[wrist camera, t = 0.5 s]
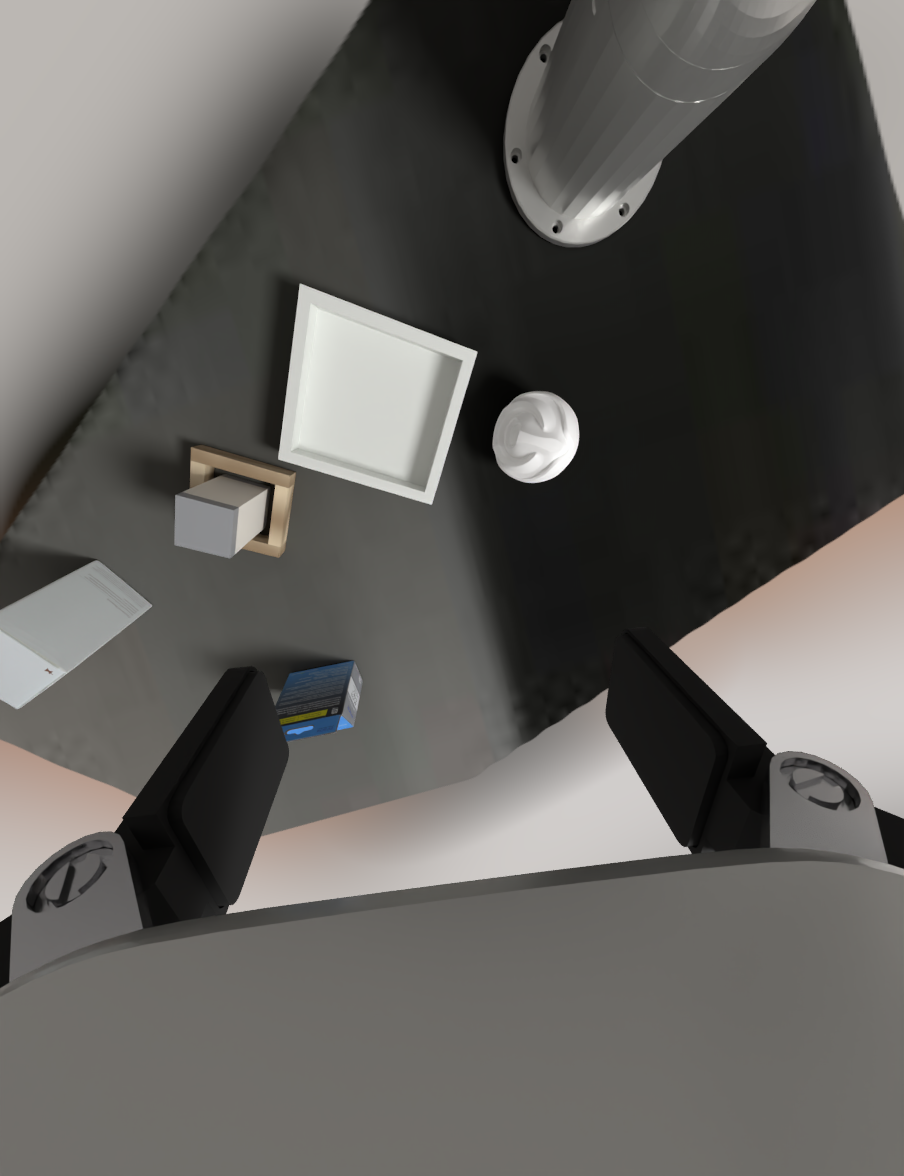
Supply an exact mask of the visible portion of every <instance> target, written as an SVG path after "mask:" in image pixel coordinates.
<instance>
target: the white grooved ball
mask: <svg viewBox="0 0 904 1176" xmlns="http://www.w3.org/2000/svg"><path fill="white" fill-rule="evenodd" d="M578 442H579V426H578V420H577V417H576V415H575V413H574V411H573V410H572V409H571V407H570V406H569V405H568V404H567V403H566V402H565V401H564V400H563V399H561V398H560V397H559V396H557V395H555V394H553V393H550V392H544V391H532V392H527V393H524V394H521V395H519V396H517V397H516V398H514V399H513V400H512V401H511V403H510V404H509V405H508V406H507V407H505V408H504V409H503V410H502V412H501V414H500V416H499V418H498V420H497V422H496V425H495V429H494V434H493V450H494V452H495V455H496V460H497V463H498V465H499V467H500V468H501V469H502V470H503V471H504V472H505V473H506V474H507V475H509V476H510V477H512V478H514V479H516V480H519V481H522V482H526V483H537V482H543V481H546V480H549V479H551V478H553V477H555V476H557V475H558V474H559V473H560V472H561V471H563V470H564V469H565V467H566V466H567V465H568V464H569V463H570V462H571V460H572V459H573V457H574V455H575V453H576V450H577V447H578Z"/></svg>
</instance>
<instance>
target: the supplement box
mask: <svg viewBox="0 0 904 1176" xmlns="http://www.w3.org/2000/svg"><path fill="white" fill-rule="evenodd" d="M151 607H152V605H151V604H150V603H149V602H148V601H147V600H145V599H144V598H143V597H142V596H141V595H140V594H138V593H137V592H136V591H135V590H134V589H132V588H131V587H130V586H129V585H128V584H126V583H125V582H124V581H123V580H122V579H120V578H119V577H118V576H117V575H116V574H114V573H113V572H112V571H111V570H110V569H108V568H107V567H106V566H105V565H104V564H102V563H101V562H100V561H98V560H95V561H93V562H91V563H89V564H87V565H85V566H83V567H81V568H79V569H77V570H75V571H73V572H71V573H69V574H68V575H66V576H64V577H62V578H60V579H58V580H56V581H54V582H52V583H50V584H48V585H46V586H45V587H43V588H41V589H39V590H37V591H35V592H33V593H31V594H29V595H27V596H26V597H24V598H22V599H20V600H18V601H16V602H14V603H12V604H10V605H8V606H6V607H4V608H2V609H1V610H0V699H1V700H3V701H4V702H6V703H8V704H9V705H11V706H12V707H14V708H15V709H19V708H21V707H22V706H24V705H25V704H26V703H28V702H29V701H30V700H32V699H33V698H34V697H36V696H37V695H39V694H40V693H41V692H43V691H44V690H46V689H47V688H48V687H50V686H51V685H52V684H54V683H55V682H56V681H58V680H59V679H60V678H62V677H63V676H64V675H66V674H67V673H68V672H70V671H71V670H72V669H74V668H75V667H76V666H78V665H79V664H80V663H81V662H83V661H84V660H85V659H87V658H88V657H89V656H90V655H92V654H93V653H94V652H95V651H97V650H98V649H99V648H100V647H102V646H103V645H104V644H106V643H107V642H108V641H109V640H111V639H112V638H113V637H114V636H116V635H117V634H118V633H119V632H121V631H122V630H123V629H125V628H126V627H127V626H128V625H130V624H131V623H132V622H133V621H135V620H136V619H137V618H138V617H140V616H141V615H142V614H143V613H144V612H146V611H147V610H148V609H149V608H151Z"/></svg>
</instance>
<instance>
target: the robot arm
mask: <svg viewBox="0 0 904 1176" xmlns="http://www.w3.org/2000/svg"><path fill="white" fill-rule="evenodd" d="M815 1H816V0H571V2H570V5H569V7H568V10H567V12H566V15H565V18H564V20H562V21H560V22H558V23H557V24H556V25H555V26H554V27H553V28H551V29H550V30H549V31H548V32H547V33H546V34H545V35H544V36H543V37H542V38H541V39H540V41H539V42H538V43H537V45H536V46H535V47H534V49H533V50H532V51H531V53H530V54H529V56H528V58H527V59H526V61H525V63H524V65H523V67H522V69H521V71H520V73H519V75H518V78H517V81H516V83H515V86H514V89H513V92H512V95H511V99H510V102H509V106H508V110H507V114H506V120H505V128H504V136H503V160H504V166H505V173H506V180H507V183H508V186H509V190H510V193H511V196H512V199H513V201H514V203H515V205H516V207H517V209H518V211H519V213H520V215H521V216H522V218H523V219H524V220H525V222H526V223H527V224H528V226H529V227H530V228H531V229H532V230H533V231H535V232H536V233H537V234H538V235H539V236H540V237H542V238H543V239H545V240H547V241H549V242H551V243H553V244H556V245H560V246H564V247H583V246H587V245H591V244H595V243H597V242H599V241H601V240H603V239H605V238H607V237H608V236H610V235H611V234H612V233H614V232H615V231H616V230H618V229H619V228H620V227H621V226H622V225H624V224H625V223H626V222H627V221H628V220H629V219H630V218H631V217H632V216H633V214H634V213H635V212H636V211H637V209H638V208H639V207H640V205H641V204H642V203H643V201H644V200H645V198H646V196H647V194H648V193H649V191H650V189H651V187H652V186H653V183H654V181H655V179H656V176H657V174H658V171H659V169H660V166H661V163H662V159H663V158H664V157H665V156H666V155H667V154H668V153H669V152H670V151H671V150H672V149H674V148H675V147H676V146H677V145H678V144H679V143H680V142H681V141H682V140H683V139H684V138H685V137H686V136H687V135H688V134H689V133H690V132H691V131H692V130H693V129H695V128H696V127H697V126H698V125H699V124H700V123H701V122H702V121H703V120H704V119H705V118H706V117H707V116H708V115H709V114H710V113H711V112H712V111H713V110H714V109H715V108H717V107H718V106H719V105H720V104H721V103H722V102H723V101H724V100H725V99H726V98H727V97H728V96H729V95H730V94H731V93H732V92H733V91H734V90H735V89H736V88H737V87H738V86H739V85H740V84H741V83H742V82H743V81H744V80H745V79H746V78H747V77H748V76H749V75H750V74H752V73H753V72H754V71H755V70H756V69H757V68H758V67H759V66H760V65H761V64H762V63H763V62H764V61H765V60H766V59H767V58H768V57H769V56H770V55H771V54H772V53H773V52H774V51H775V50H776V49H777V48H778V47H779V46H780V45H781V44H782V43H783V42H784V40H785V39H786V38H787V37H788V36H789V35H790V34H791V33H792V31H793V30H794V29H795V28H796V27H797V25H798V24H799V23H800V22H801V20H802V19H803V18H804V16H805V15H806V13H807V12H808V11H809V9H810V8H811V7H812V5H813V4H814V2H815ZM541 58H542V59H544V60H545V63H543V62H542V61H541V60H540V59H541ZM512 158H515V159H516V160H517V164H515V163H513V162H512ZM619 210H620V211H621V212H622V216H620V214H619ZM553 227H555V228H556V229H557V233H556V234H555V233H554V232H553V230H552V228H553ZM606 719H607V722H608V724H609V726H610V728H611V730H612V731H613V733H614V735H615V737H616V738H617V740H618V742H619V743H620V745H621V747H622V748H623V750H624V752H625V753H626V755H627V756H628V758H629V760H630V761H631V763H632V765H633V767H634V768H635V770H636V772H637V774H638V775H639V777H640V778H641V780H642V782H643V784H644V785H645V787H646V789H647V790H648V792H649V794H650V795H651V797H652V799H653V800H654V802H655V804H656V805H657V807H658V809H659V810H660V812H661V814H662V815H663V817H664V819H665V820H666V822H667V824H668V826H669V827H670V829H671V831H672V832H673V834H674V836H675V837H676V839H677V840H678V842H679V843H680V844H681V845H682V846H684V847H688V848H689V849H690V851H691V853H692V854H688V855H679V856H669V857H659V858H652V859H643V860H635V861H627V862H618V863H610V864H603V865H594V866H586V867H578V868H570V869H561V870H553V871H545V872H538V873H529V874H521V875H514V876H507V877H498V878H490V879H483V880H475V881H467V882H459V883H451V884H443V885H436V886H428V887H420V888H412V889H405V890H397V891H389V892H382V893H375V894H367V895H361V896H353V897H346V898H337V899H330V900H322V901H315V902H308V903H301V904H293V905H286V906H278V907H270V908H263V909H257V910H250V911H244V912H238V913H231V914H226V912H227V910H228V907H229V905H233V904H234V903H235V902H236V901H237V899H238V897H239V895H240V892H241V890H242V887H243V884H244V881H245V878H246V876H247V873H248V870H249V867H250V865H251V862H252V859H253V856H254V853H255V851H256V848H257V845H258V842H259V839H260V837H261V834H262V831H263V828H264V826H265V823H266V820H267V817H268V814H269V812H270V809H271V806H272V803H273V800H274V798H275V795H276V792H277V789H278V786H279V784H280V781H281V778H282V775H283V773H284V770H285V767H286V764H287V761H288V757H289V748H288V744H287V741H286V738H285V735H284V732H283V729H282V726H281V723H280V720H279V717H278V714H277V711H276V708H275V705H274V702H273V699H272V696H271V693H270V690H269V687H268V684H267V681H266V678H265V676H264V673H263V672H261V671H257V670H256V668H255V667H252V666H250V667H240V668H231V669H228V670H227V671H226V672H225V673H224V675H223V676H222V678H221V679H220V680H219V682H218V683H217V685H216V686H215V687H214V689H213V690H212V692H211V693H210V695H209V696H208V697H207V699H206V700H205V702H204V703H203V704H202V706H201V707H200V709H199V710H198V712H197V713H196V714H195V716H194V717H193V719H192V720H191V721H190V723H189V724H188V726H187V727H186V728H185V730H184V731H183V733H182V734H181V736H180V737H179V738H178V740H177V741H176V743H175V744H174V745H173V747H172V748H171V750H170V751H169V753H168V754H167V755H166V757H165V758H164V760H163V761H162V762H161V764H160V765H159V767H158V768H157V769H156V771H155V772H154V774H153V775H152V777H151V778H150V779H149V781H148V782H147V784H146V785H145V786H144V788H143V789H142V791H141V792H140V794H139V795H138V796H137V798H136V799H135V801H134V802H133V803H132V805H131V806H130V808H129V809H128V811H127V812H126V813H125V815H124V816H123V821H122V823H121V824H120V825H119V827H118V828H117V830H116V831H115V832H114V833H113V832H98V833H95V834H91V835H87V836H84V837H82V838H80V839H78V840H76V841H74V842H72V843H70V844H68V845H67V846H65V847H64V848H62V849H61V850H59V851H58V852H56V853H55V854H53V855H52V856H51V857H50V858H48V859H47V860H46V861H45V862H44V863H43V864H41V865H40V866H39V867H38V868H37V869H36V870H35V871H34V872H33V873H32V875H31V876H30V877H29V878H28V879H27V880H26V881H25V883H24V884H23V886H22V887H21V889H20V891H19V892H18V894H17V896H16V898H15V902H14V905H13V910H12V915H10V916H9V917H7V918H6V919H4V920H3V921H1V922H0V1176H904V819H903V818H900V817H898V816H896V815H893V814H891V813H888V812H885V811H883V810H881V809H878V808H876V807H874V805H873V801H872V799H871V797H870V795H869V793H868V791H867V790H866V789H865V788H864V787H863V786H862V784H861V783H860V782H859V781H858V780H857V779H855V778H854V777H853V776H852V775H850V774H849V773H848V772H847V771H845V770H844V769H842V768H840V767H838V766H837V765H835V764H833V763H831V762H829V761H827V760H825V759H822V758H820V757H817V756H815V755H811V754H807V753H803V752H793V751H787V752H782V753H778V754H777V755H774V754H773V753H772V752H771V751H770V750H769V749H768V748H767V747H766V745H767V743H766V742H765V741H764V740H763V739H762V738H761V737H760V736H759V735H758V734H757V733H756V732H755V731H754V730H753V729H752V728H751V727H750V726H749V725H748V724H747V723H746V722H745V721H744V720H742V718H741V717H740V716H739V715H737V714H736V713H735V712H734V711H733V710H732V709H731V708H730V707H729V706H728V705H727V704H726V703H725V702H724V701H723V700H722V699H721V698H720V697H719V696H718V695H717V694H716V693H715V692H714V691H713V690H712V689H711V688H710V687H709V686H708V685H706V683H705V682H704V681H702V679H700V678H699V677H698V676H697V675H696V674H695V673H694V672H693V671H692V670H691V669H690V668H689V667H688V666H687V665H686V664H685V663H684V662H683V661H682V660H681V659H680V658H679V657H678V656H677V655H676V654H675V653H674V652H673V651H672V650H671V649H670V648H669V647H668V646H667V645H666V644H665V643H663V642H662V641H661V640H660V639H659V638H658V637H657V636H656V635H655V634H654V633H653V632H652V631H651V630H650V629H649V628H647V627H640V628H630V629H624V630H623V631H622V633H621V635H618V636H617V637H616V640H615V646H614V653H613V661H612V668H611V675H610V682H609V689H608V697H607V704H606Z"/></svg>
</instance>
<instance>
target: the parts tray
mask: <svg viewBox="0 0 904 1176" xmlns="http://www.w3.org/2000/svg"><path fill="white" fill-rule="evenodd" d="M476 355H477V352H476V351H474V350H471V349H469V348H466V347H463V346H461V345H458V344H456V343H453V342H451V341H448V340H445V339H443V338H440V337H438V336H435V335H432V334H430V333H427V332H425V331H422V330H419V329H417V328H414V327H412V326H409V325H406V324H404V323H401V322H399V321H396V320H393V319H391V318H388V317H386V316H383V315H380V314H378V313H375V312H373V311H370V310H367V309H365V308H362V307H360V306H357V305H355V304H352V303H349V302H347V301H344V300H342V299H339V298H336V297H334V296H331V295H329V294H326V293H323V292H321V291H318V290H316V289H313V288H310V287H308V286H305V285H303V284H300V287H299V295H298V303H297V311H296V319H295V327H294V335H293V343H292V352H291V360H290V368H289V376H288V384H287V392H286V400H285V408H284V416H283V424H282V432H281V441H280V449H279V457H278V459H279V460H282V461H286V462H289V463H292V464H296V465H299V466H303V467H306V468H309V469H313V470H316V471H319V472H323V473H326V474H330V475H333V476H336V477H340V478H343V479H346V480H350V481H353V482H357V483H360V484H363V485H367V486H370V487H373V488H377V489H380V490H384V491H387V492H390V493H394V494H397V495H400V496H404V497H407V498H411V499H414V500H417V501H421V502H424V503H427V504H431V505H432V502H433V499H434V495H435V492H436V489H437V485H438V482H439V479H440V475H441V472H442V469H443V465H444V462H445V459H446V455H447V452H448V449H449V445H450V442H451V439H452V435H453V432H454V429H455V425H456V422H457V419H458V415H459V412H460V408H461V405H462V402H463V398H464V395H465V392H466V388H467V385H468V382H469V378H470V375H471V372H472V368H473V365H474V362H475V358H476Z"/></svg>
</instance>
